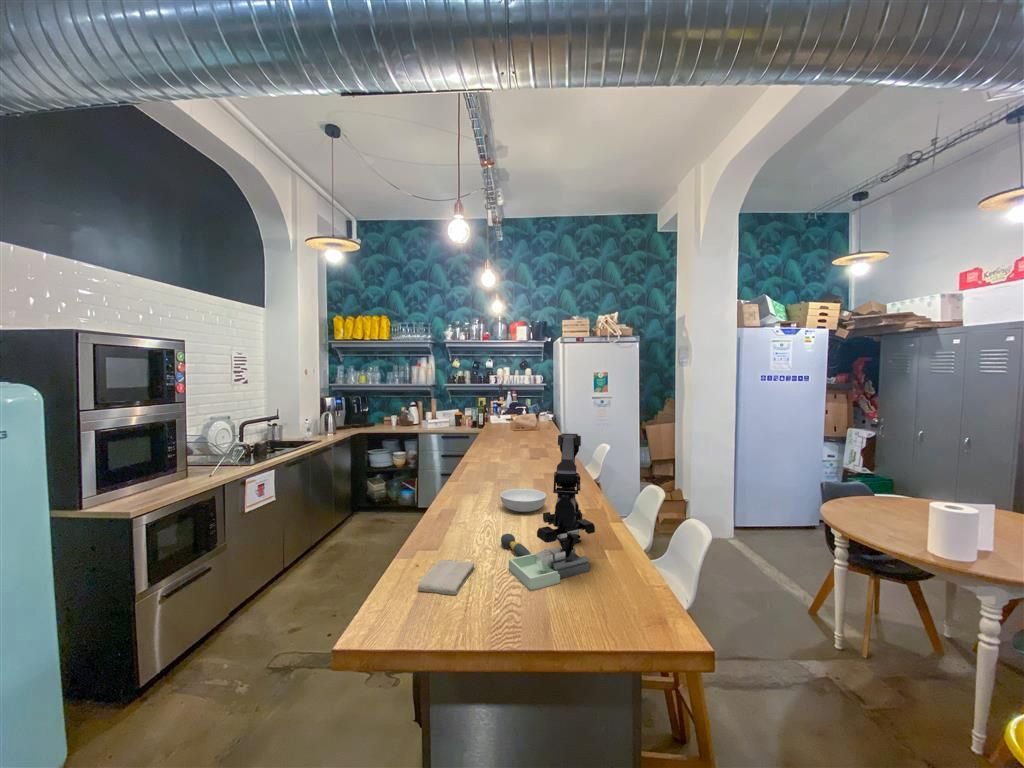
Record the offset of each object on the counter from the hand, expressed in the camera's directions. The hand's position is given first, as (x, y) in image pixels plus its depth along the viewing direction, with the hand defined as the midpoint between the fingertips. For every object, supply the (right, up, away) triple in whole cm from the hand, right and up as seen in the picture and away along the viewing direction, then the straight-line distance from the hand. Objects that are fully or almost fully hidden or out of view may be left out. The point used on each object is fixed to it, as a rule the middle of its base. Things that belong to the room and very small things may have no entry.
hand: (566, 557), depth 133 cm
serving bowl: (-12, -3, +59) cm, 60 cm away
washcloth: (-37, -5, -7) cm, 37 cm away
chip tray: (-11, -4, -5) cm, 12 cm away
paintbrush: (-16, -4, +12) cm, 20 cm away
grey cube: (-3, -1, -2) cm, 4 cm away
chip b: (-7, -1, -3) cm, 8 cm away
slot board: (-1, -4, 0) cm, 4 cm away
